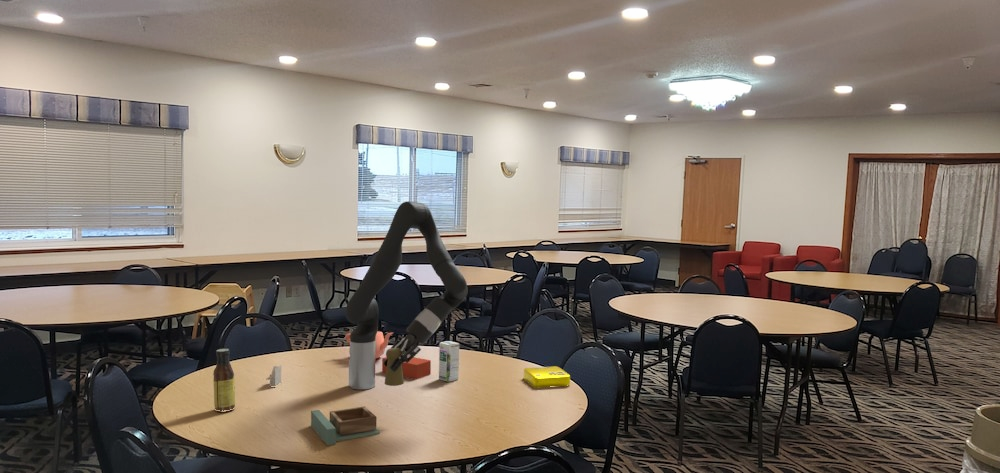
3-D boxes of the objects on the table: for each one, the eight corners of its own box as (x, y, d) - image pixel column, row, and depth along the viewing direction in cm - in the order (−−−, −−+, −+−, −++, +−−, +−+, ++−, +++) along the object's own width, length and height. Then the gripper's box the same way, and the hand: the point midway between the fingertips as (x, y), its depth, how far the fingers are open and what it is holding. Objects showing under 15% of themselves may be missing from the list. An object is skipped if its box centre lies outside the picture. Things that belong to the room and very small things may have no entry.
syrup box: (438, 379, 251) (438, 342, 250) (449, 376, 255) (449, 340, 254) (448, 382, 247) (448, 344, 246) (459, 379, 251) (459, 342, 250)
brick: (430, 375, 258) (431, 360, 257) (416, 380, 250) (416, 364, 250) (396, 368, 267) (396, 353, 267) (381, 372, 260) (381, 358, 259)
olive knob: (385, 380, 206) (385, 346, 205) (404, 380, 207) (404, 346, 206) (383, 386, 200) (383, 350, 199) (403, 385, 201) (403, 350, 200)
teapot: (343, 357, 282) (343, 327, 281) (375, 352, 292) (376, 323, 291) (360, 365, 269) (360, 334, 268) (393, 360, 279) (394, 330, 278)
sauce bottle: (239, 408, 212) (239, 348, 211) (225, 414, 206) (225, 353, 205) (223, 406, 214) (223, 346, 213) (209, 411, 208) (208, 351, 207)
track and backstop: (311, 425, 198) (311, 410, 197) (362, 417, 206) (362, 403, 206) (327, 445, 182) (327, 429, 182) (382, 435, 190) (382, 420, 190)
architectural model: (265, 388, 236) (265, 368, 236) (273, 383, 243) (273, 363, 243) (274, 389, 236) (274, 369, 235) (282, 383, 243) (282, 364, 242)
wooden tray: (329, 423, 197) (329, 411, 197) (364, 418, 202) (364, 406, 202) (340, 435, 187) (340, 422, 187) (376, 429, 193) (376, 416, 193)
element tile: (557, 376, 260) (557, 364, 259) (571, 387, 245) (572, 374, 245) (522, 378, 255) (522, 366, 255) (534, 389, 241) (534, 377, 241)
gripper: (407, 315, 212) (372, 355, 207) (425, 322, 200) (389, 365, 194) (422, 329, 215) (388, 369, 210) (441, 337, 203) (405, 380, 197)
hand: (388, 367), depth 202 cm, fingers closed on olive knob, 5 cm apart
